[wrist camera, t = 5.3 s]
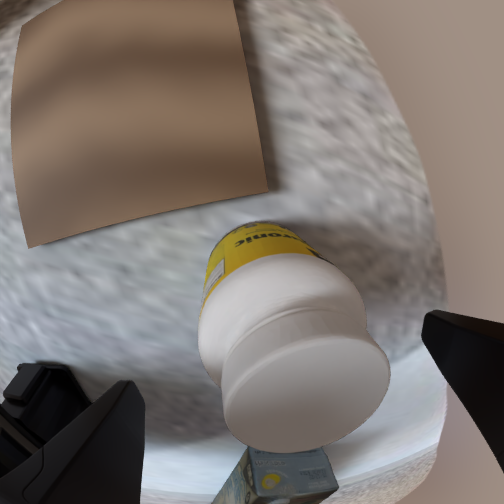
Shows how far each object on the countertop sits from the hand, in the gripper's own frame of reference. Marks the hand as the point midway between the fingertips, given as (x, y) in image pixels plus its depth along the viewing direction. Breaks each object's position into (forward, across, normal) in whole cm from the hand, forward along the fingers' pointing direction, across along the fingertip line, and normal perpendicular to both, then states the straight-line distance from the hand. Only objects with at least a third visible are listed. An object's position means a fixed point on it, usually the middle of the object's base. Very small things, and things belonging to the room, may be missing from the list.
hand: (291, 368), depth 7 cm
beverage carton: (+9, +4, +26) cm, 27 cm away
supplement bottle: (+8, 0, 0) cm, 8 cm away
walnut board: (+8, +6, -12) cm, 16 cm away
